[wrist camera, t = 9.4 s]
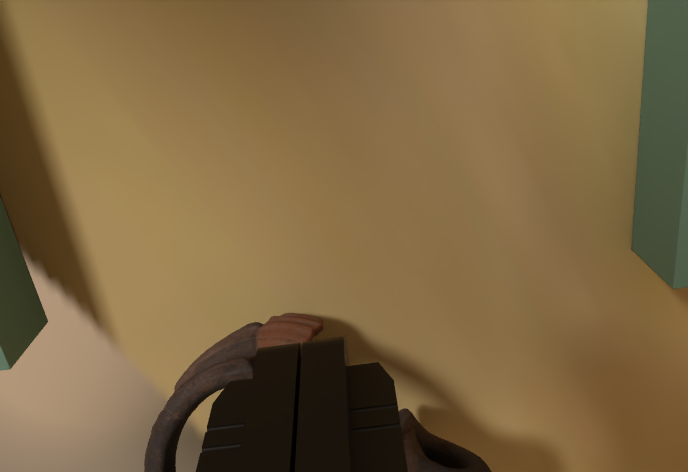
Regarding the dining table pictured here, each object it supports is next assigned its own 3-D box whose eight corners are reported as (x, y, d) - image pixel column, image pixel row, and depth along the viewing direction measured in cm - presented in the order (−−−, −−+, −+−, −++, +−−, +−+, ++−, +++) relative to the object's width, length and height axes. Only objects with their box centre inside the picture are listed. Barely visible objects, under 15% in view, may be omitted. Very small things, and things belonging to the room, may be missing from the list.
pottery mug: (218, 512, 28) (112, 613, 20) (225, 301, 28) (124, 316, 20) (492, 544, 25) (500, 676, 17) (496, 313, 25) (506, 334, 17)
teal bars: (-229, -270, 16) (-452, -362, 11) (729, -425, 15) (901, -593, 11) (14, 325, 23) (-63, 413, 19) (667, 245, 22) (752, 316, 18)
